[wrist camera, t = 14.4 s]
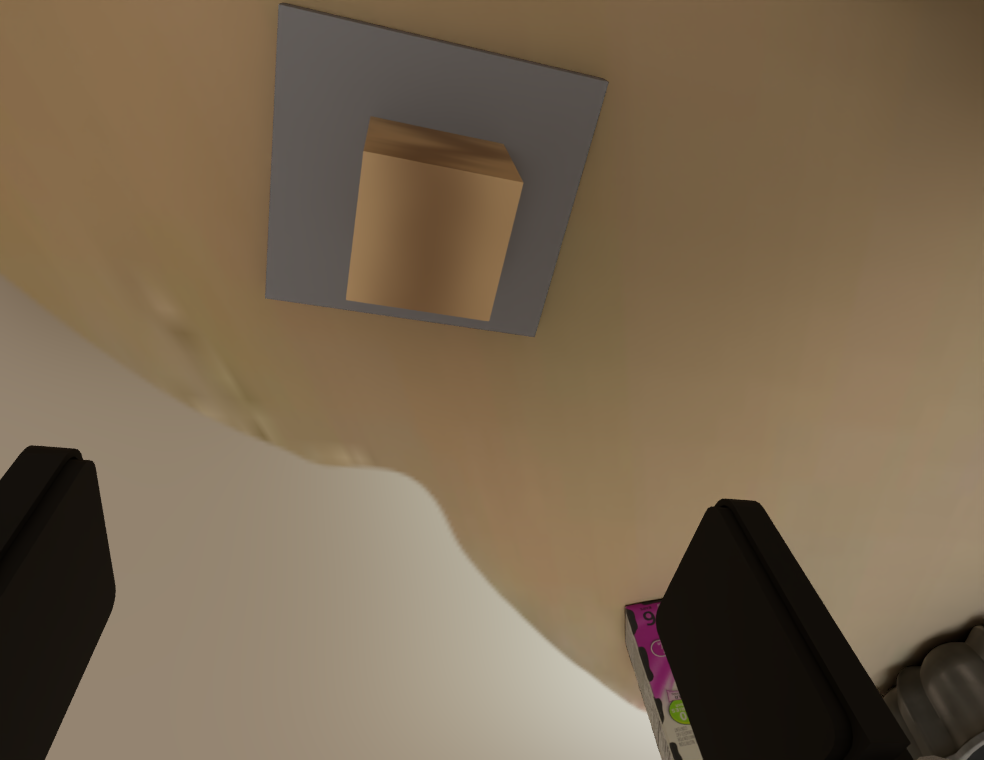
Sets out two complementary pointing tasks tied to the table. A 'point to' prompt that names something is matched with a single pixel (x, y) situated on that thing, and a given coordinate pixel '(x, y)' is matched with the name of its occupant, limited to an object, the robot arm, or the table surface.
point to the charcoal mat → (426, 103)
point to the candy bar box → (658, 685)
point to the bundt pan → (944, 701)
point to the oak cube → (431, 220)
